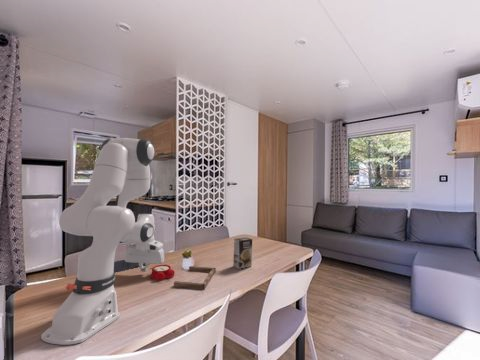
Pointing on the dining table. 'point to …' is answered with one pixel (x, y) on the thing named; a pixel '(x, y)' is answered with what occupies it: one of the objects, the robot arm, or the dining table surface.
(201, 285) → the brown frame
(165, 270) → the alarm clock
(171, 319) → the dining table surface
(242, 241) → the coffee box
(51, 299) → the dining table surface
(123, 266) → the dark slate chunk
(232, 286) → the dining table surface
